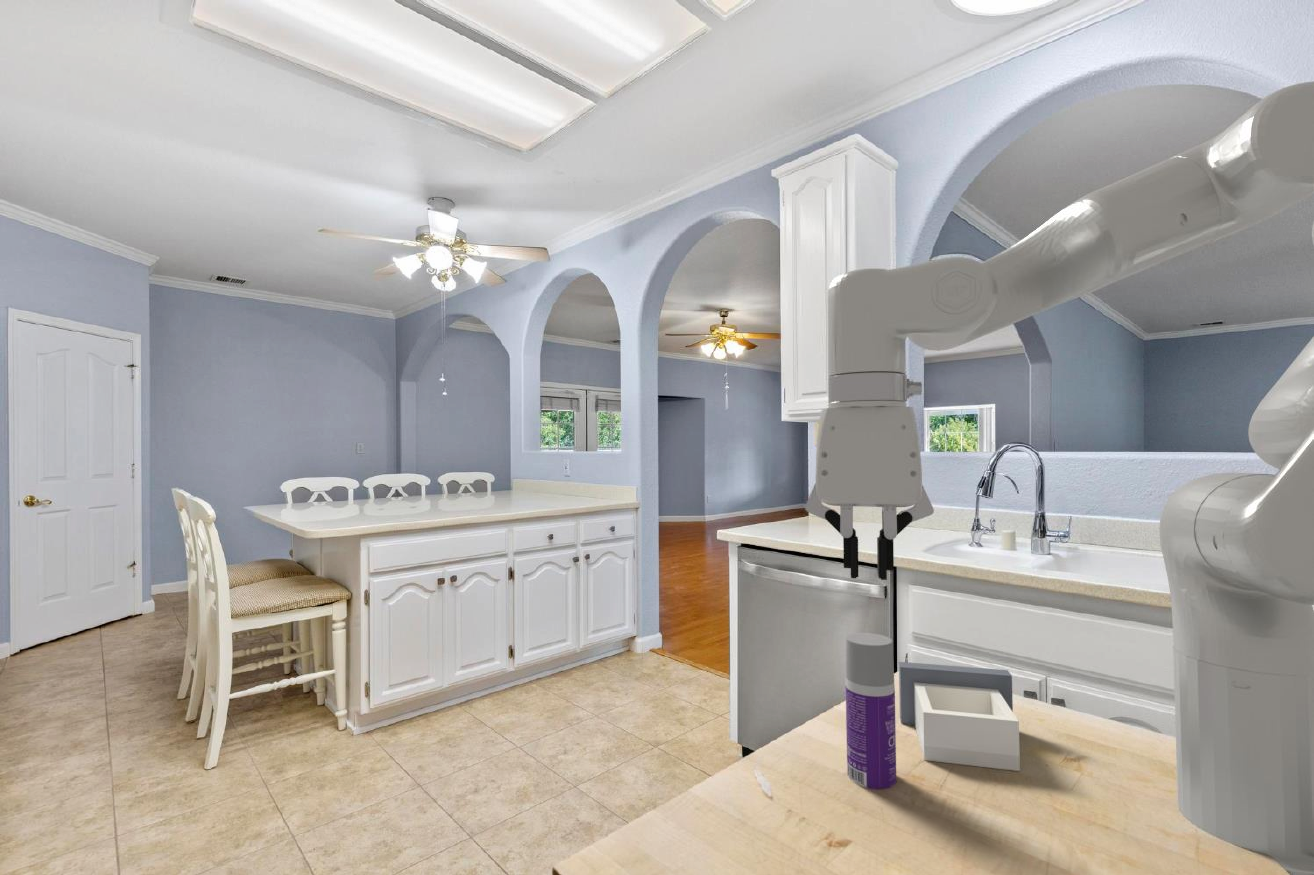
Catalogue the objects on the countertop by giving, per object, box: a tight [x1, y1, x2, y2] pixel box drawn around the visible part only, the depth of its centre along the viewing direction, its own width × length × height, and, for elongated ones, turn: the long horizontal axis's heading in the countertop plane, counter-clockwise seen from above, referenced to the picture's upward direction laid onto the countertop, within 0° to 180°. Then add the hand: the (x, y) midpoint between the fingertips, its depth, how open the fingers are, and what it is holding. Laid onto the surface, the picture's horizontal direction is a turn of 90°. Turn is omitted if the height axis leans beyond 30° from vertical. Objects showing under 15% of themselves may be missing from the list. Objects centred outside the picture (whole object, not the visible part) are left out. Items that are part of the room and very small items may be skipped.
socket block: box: [914, 683, 1021, 772], centre depth 70 cm, size 9×9×5 cm
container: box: [845, 632, 897, 790], centre depth 64 cm, size 5×5×15 cm
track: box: [898, 661, 1014, 726], centre depth 67 cm, size 12×19×8 cm, turn 164°
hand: (868, 575), depth 64 cm, fingers closed
